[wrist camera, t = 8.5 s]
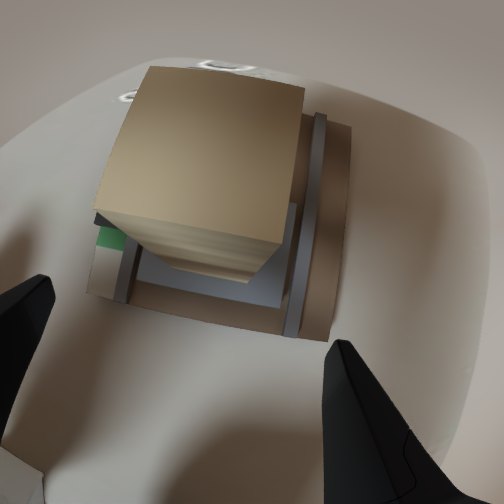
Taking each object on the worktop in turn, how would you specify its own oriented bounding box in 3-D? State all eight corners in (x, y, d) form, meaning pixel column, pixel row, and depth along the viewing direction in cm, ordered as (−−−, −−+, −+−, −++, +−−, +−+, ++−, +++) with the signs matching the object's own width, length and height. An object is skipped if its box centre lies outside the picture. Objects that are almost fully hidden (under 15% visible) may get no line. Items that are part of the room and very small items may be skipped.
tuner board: (320, 339, 19) (331, 343, 17) (96, 293, 18) (82, 292, 16) (344, 137, 22) (354, 123, 20) (155, 101, 21) (150, 85, 19)
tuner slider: (276, 308, 17) (368, 311, 6) (89, 268, 17) (-53, 217, 5) (293, 209, 18) (377, 84, 7) (115, 177, 18) (24, 54, 6)
